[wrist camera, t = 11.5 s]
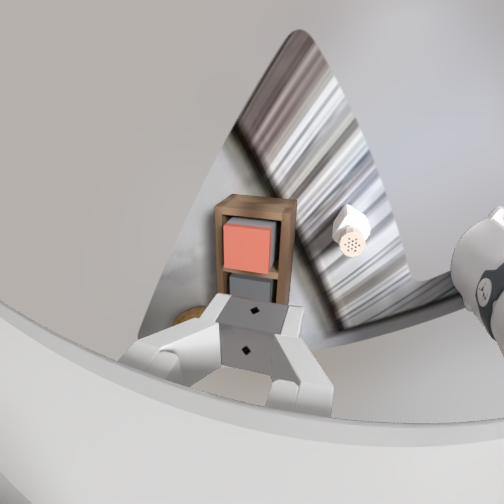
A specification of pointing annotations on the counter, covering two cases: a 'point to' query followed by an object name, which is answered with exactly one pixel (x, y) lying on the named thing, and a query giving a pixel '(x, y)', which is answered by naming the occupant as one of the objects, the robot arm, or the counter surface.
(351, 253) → the pepper shaker
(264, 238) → the red and grey cube
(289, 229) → the wooden divided tray
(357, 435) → the robot arm
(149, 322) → the counter surface
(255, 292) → the grey cube
